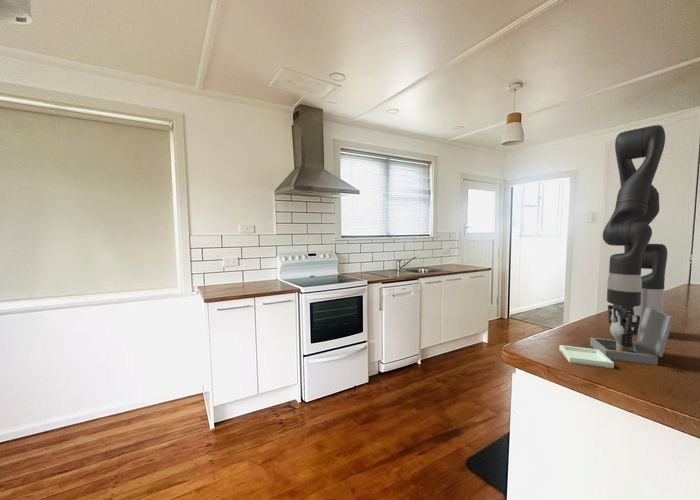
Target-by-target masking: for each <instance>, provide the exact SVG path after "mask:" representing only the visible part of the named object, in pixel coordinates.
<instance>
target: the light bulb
mask: <svg viewBox="0 0 700 500" xmlns="http://www.w3.org/2000/svg"><path fill="white" fill-rule="evenodd" d="M625 324H626V323H625ZM629 330H630V329H629ZM609 332H610V334H611V337H612V336H613V337H614V339H615V341H616V346H617V347H616V350H615V351H622V352H626V351H627V350H626V347H623V346H622V345H621V337H622V331H621V327H620V326H619V325H618V322H615V323H613V324H612V325H611V324H610V327H609ZM634 337H635V335H632V339H633V338H634Z"/></svg>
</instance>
